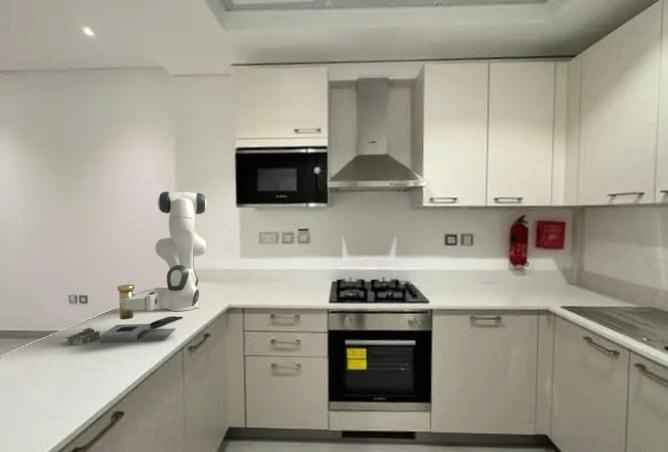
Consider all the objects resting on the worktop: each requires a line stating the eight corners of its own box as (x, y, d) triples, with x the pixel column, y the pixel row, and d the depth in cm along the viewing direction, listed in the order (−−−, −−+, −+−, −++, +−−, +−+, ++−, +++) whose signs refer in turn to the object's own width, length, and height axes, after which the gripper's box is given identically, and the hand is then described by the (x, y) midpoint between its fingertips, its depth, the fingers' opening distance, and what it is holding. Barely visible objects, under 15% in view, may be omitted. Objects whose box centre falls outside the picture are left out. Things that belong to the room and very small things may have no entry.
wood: (171, 317, 185) (171, 311, 185) (184, 318, 183) (183, 312, 183) (136, 330, 164) (136, 324, 164) (149, 332, 162) (149, 325, 162)
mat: (154, 330, 163) (154, 329, 163) (175, 329, 164) (175, 328, 164) (141, 341, 149) (140, 339, 149) (164, 340, 150) (164, 338, 150)
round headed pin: (122, 315, 158) (121, 284, 157) (137, 315, 159) (136, 284, 158) (115, 320, 152) (114, 287, 151) (131, 319, 152) (130, 287, 152)
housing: (117, 331, 161) (117, 324, 161) (150, 330, 163) (150, 323, 163) (100, 342, 147) (100, 335, 147) (137, 341, 149) (136, 333, 149)
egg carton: (91, 336, 156) (91, 326, 156) (102, 338, 153) (102, 328, 153) (64, 343, 147) (63, 333, 147) (75, 346, 143) (75, 336, 143)
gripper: (166, 285, 166) (134, 286, 165) (148, 296, 146) (111, 297, 145) (167, 299, 167) (134, 300, 165) (149, 311, 146) (112, 312, 145)
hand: (124, 298), depth 155 cm, fingers closed on round headed pin, 5 cm apart
